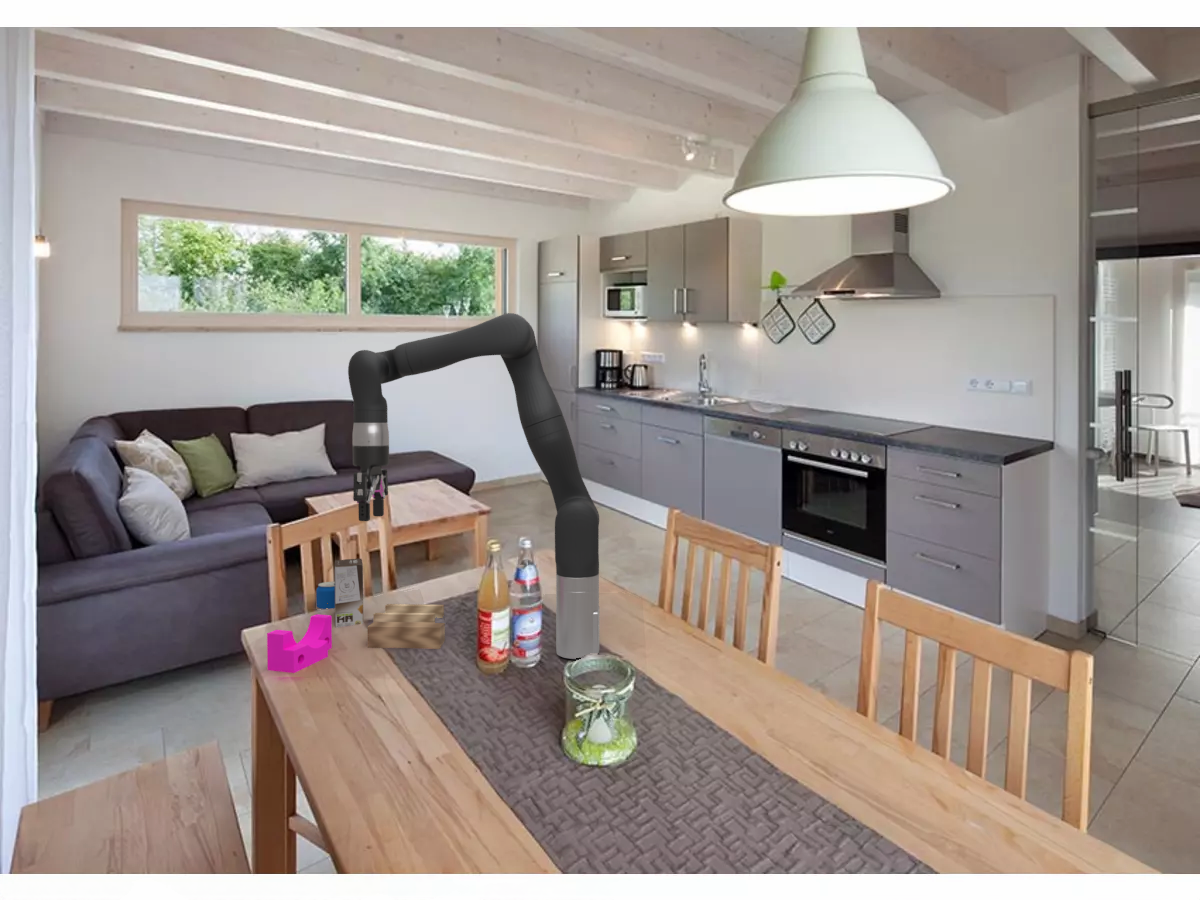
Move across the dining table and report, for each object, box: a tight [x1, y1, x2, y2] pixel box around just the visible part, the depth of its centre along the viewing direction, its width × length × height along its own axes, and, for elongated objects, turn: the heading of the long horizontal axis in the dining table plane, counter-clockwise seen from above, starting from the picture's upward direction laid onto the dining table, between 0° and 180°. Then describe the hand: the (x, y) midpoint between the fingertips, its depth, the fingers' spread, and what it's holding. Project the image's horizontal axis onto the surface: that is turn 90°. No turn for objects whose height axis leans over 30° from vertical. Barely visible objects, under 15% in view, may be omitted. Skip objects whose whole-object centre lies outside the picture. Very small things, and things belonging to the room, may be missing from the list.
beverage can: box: [315, 581, 335, 610], centre depth 177 cm, size 6×6×12 cm
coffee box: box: [334, 558, 364, 628], centre depth 169 cm, size 9×6×16 cm
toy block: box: [266, 613, 333, 674], centre depth 146 cm, size 15×6×8 cm, turn 164°
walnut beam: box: [367, 621, 446, 650], centre depth 155 cm, size 16×4×5 cm, turn 87°
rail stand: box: [372, 603, 445, 622], centre depth 167 cm, size 16×13×5 cm
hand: (371, 518), depth 153 cm, fingers open, 8 cm apart
